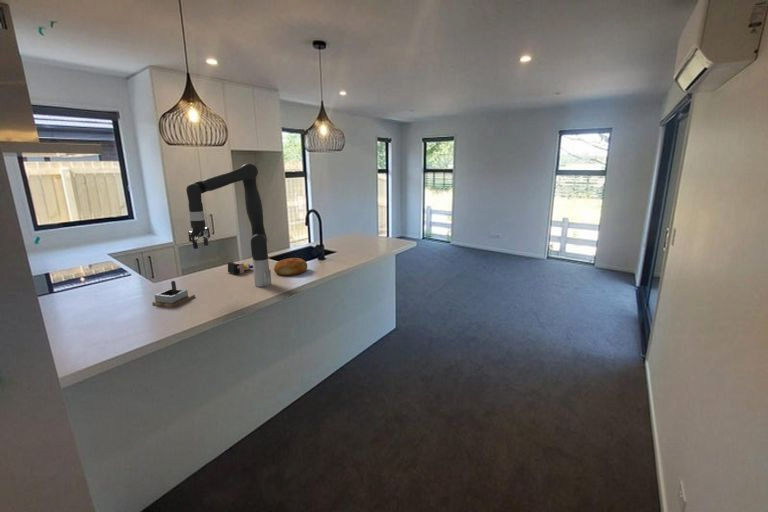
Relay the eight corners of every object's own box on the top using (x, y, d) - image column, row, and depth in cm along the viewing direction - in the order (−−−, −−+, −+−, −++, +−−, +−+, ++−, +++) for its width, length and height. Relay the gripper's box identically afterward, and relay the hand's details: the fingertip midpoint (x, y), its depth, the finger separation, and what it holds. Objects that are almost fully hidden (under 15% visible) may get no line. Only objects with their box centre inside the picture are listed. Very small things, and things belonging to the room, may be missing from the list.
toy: (255, 262, 247) (235, 265, 235) (254, 272, 248) (235, 274, 236) (245, 260, 254) (226, 262, 242) (245, 269, 255) (226, 271, 243)
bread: (274, 268, 254) (273, 255, 252) (306, 266, 261) (305, 254, 258) (274, 278, 233) (273, 264, 231) (309, 275, 240) (308, 261, 237)
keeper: (195, 297, 197) (192, 278, 194) (174, 307, 183) (171, 286, 180) (174, 295, 200) (171, 276, 197) (152, 304, 186) (149, 284, 183)
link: (188, 296, 194) (187, 289, 193) (173, 303, 184) (172, 296, 183) (171, 294, 196) (170, 288, 195) (155, 302, 186) (154, 295, 185)
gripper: (194, 221, 186) (198, 250, 191) (211, 217, 200) (215, 244, 204) (182, 220, 188) (186, 249, 192) (200, 217, 201) (203, 244, 205)
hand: (201, 247), depth 198 cm, fingers open, 8 cm apart
